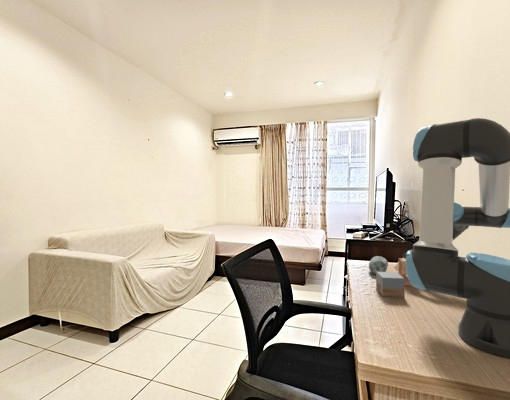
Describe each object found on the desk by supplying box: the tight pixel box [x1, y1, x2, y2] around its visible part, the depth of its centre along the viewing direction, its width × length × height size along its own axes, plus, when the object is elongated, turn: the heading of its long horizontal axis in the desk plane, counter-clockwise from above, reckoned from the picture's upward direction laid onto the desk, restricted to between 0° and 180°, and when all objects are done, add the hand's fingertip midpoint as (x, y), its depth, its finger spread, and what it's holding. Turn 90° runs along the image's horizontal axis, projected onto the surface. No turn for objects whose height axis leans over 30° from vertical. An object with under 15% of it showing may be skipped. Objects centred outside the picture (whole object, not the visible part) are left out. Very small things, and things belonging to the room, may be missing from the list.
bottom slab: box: [375, 280, 406, 299], centre depth 105 cm, size 8×8×4 cm
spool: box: [368, 255, 389, 275], centre depth 133 cm, size 14×10×10 cm
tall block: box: [397, 257, 413, 287], centre depth 116 cm, size 5×5×11 cm
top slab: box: [375, 271, 405, 289], centre depth 105 cm, size 8×8×4 cm
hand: (401, 273), depth 117 cm, fingers open, 13 cm apart
